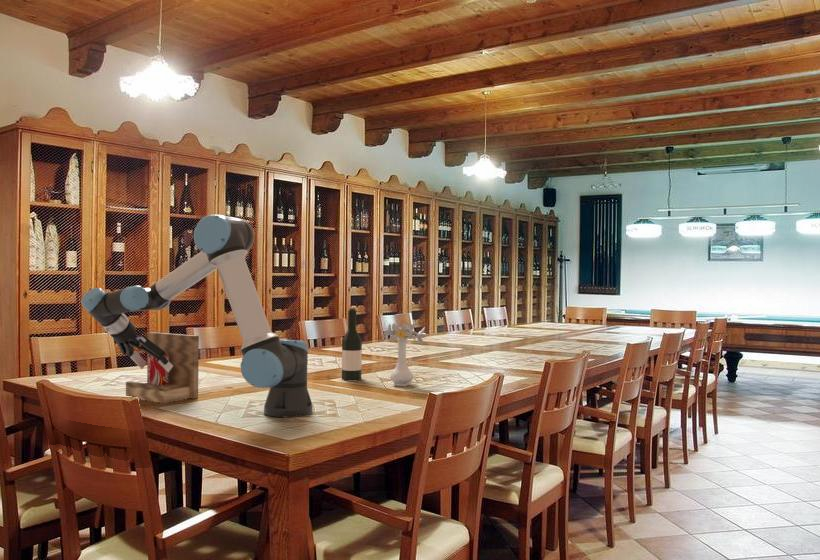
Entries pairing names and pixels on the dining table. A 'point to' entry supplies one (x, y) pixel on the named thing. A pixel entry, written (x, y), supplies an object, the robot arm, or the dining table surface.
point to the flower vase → (403, 351)
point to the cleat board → (172, 370)
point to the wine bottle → (351, 350)
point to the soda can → (156, 372)
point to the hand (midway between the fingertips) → (157, 367)
